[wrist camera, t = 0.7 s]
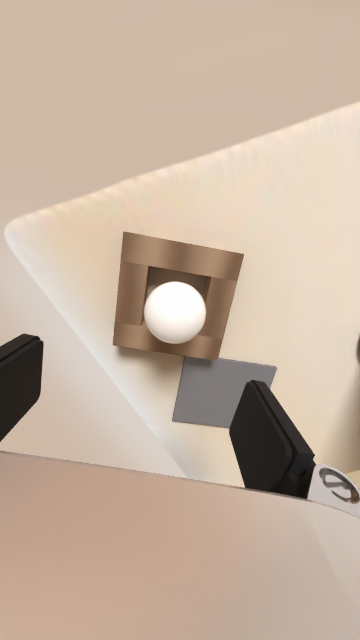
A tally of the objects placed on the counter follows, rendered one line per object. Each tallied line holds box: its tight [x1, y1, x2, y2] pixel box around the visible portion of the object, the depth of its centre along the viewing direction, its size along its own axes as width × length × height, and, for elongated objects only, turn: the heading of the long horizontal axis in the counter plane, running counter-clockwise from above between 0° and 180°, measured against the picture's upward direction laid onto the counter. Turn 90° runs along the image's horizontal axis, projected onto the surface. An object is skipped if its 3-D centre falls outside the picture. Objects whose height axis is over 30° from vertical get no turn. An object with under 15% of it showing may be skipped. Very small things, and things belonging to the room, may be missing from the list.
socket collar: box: [113, 232, 244, 361], centre depth 29 cm, size 14×14×3 cm
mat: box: [172, 356, 277, 428], centre depth 35 cm, size 14×12×1 cm
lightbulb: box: [144, 281, 206, 344], centre depth 25 cm, size 6×6×11 cm
